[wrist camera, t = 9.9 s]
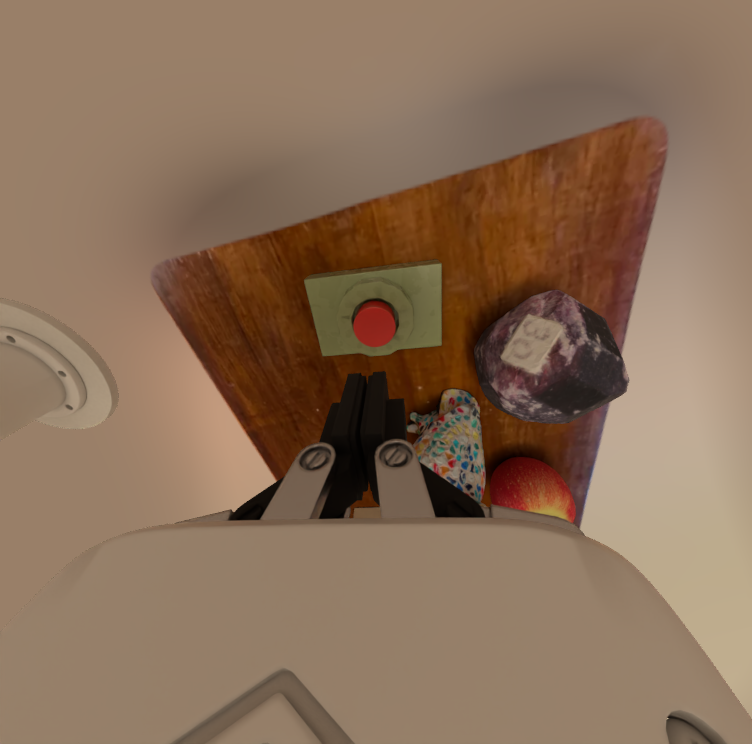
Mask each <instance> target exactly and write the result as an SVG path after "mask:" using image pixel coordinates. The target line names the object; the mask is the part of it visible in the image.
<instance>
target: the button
mask: <svg viewBox="0 0 752 744" xmlns="http://www.w3.org/2000/svg"><path fill="white" fill-rule="evenodd" d="M353 329H354V333H355V335H356V337H357V339H358V340H359V341H360V342H361V343H363V344H364V345H367V346H370V347H380V346H383V345H385V344H387V343H388V342H389V341H390V340H391V339H392V338H393V336H394V334H395V330H396V323H395V315H394V312H393V310H392V309H391V308H390V307H389V306H388V305H387V304H385V303H383V302H381V301H370V302H367V303H365V304H363V305H362V306H361V307H360V308H359V310H358V312H357V314H356V317H355V320H354V324H353Z"/></svg>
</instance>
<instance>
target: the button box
mask: <svg viewBox="0 0 752 744" xmlns="http://www.w3.org/2000/svg"><path fill="white" fill-rule="evenodd" d="M304 283H305V287H306V291H307V295H308V299H309V303H310V307H311V311H312V315H313V319H314V323H315V328H316V332H317V336H318V340H319V344H320V348H321V352H322V356H332V355H343V354H354V353H362V354H365V355H368V356H380V355H390V354H391V353H393V352H394V351H396V350H399V349H410V348H421V347H432V346H441V345H442V264H441V263H440V262H439V261H438V260H437V259H435V260H427V261H418V262H410V263H402V264H394V265H385V266H377V267H369V268H361V269H352V270H344V271H336V272H328V273H319V274H311V275H310V276H308V277H307V278H306V279H304ZM370 301H381V302H383V303H385V304H387V305H388V306H389V307H390V308H391V309H392V310H393V312H394V315H395V323H396V330H395V334H394V336H393V338H392V339H391V340H390V341H389V342H388V343H387V344H385V345H383V346H380V347H370V346H367V345H364V344H363V343H361V342H360V341H359V340H358V339H357V337H356V335H355V333H354V329H353V324H354V320H355V317H356V314H357V312H358V310H359V308H360V307H361V306H362V305H363V304H365V303H367V302H370Z"/></svg>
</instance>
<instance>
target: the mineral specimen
mask: <svg viewBox="0 0 752 744" xmlns="http://www.w3.org/2000/svg"><path fill="white" fill-rule="evenodd" d="M474 357H475V364H476V370H477V375H478V379H479V384H480V386H481V388H482V390H483V392H484V394H485V396H486V397H487V398H488V400H489V401H490V402H491V403H492V404H493V405H494V406H495V407H496V408H498V409H500V410H501V411H503V412H505V413H507V414H509V415H512V416H514V417H516V418H518V419H521V420H525V421H532V422H540V423H555V424H557V423H561V424H563V423H569V422H571V421H573V420H575V419H577V418H579V417H581V416H583V415H585V414H587V413H588V412H590V411H593V410H595V409H597V408H599V407H601V406H603V405H605V404H607V403H608V402H610V401H612V400H614V399H616V398H617V397H619V396H621V395H622V394H624V393H625V392H626V391H627V386H628V383H629V377H628V374H627V371H626V368H625V364H624V361H623V358H622V356H621V354H620V352H619V349H618V347H617V345H616V342H615V340H614V338H613V336H612V333H611V331H610V329H609V327H608V325H607V322H606V320H605V319H604V318H603V317H601V316H600V315H598V314H597V313H595V312H594V311H592V310H591V309H589V308H588V307H586V306H585V305H583V304H582V303H580V302H578V301H577V300H575V299H574V298H572V297H571V296H569V295H567V294H565V293H564V292H562V291H560V290H552V291H548V292H545V293H541V294H538V295H534V296H531V297H530V298H528V299H526V300H525V301H523V302H522V303H520V304H519V305H517V306H516V307H514V308H513V309H512V310H510V311H509V312H507V313H506V314H505V315H504V316H502V317H501V318H499V319H498V320H497V321H495V322H494V323H493V324H491V325H490V326H489V327H488V328H487V329H485V331H484V332H483V333H482V335H481V337H480V338H479V340H478V342H477V344H476V346H475V348H474Z"/></svg>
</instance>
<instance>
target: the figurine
mask: <svg viewBox="0 0 752 744" xmlns="http://www.w3.org/2000/svg"><path fill="white" fill-rule="evenodd" d="M436 407H437V409H436V410H434V411H432V412H431V413H429V414H426V415H424V416H422V415H420V414H418V413H416V412H413V413H411V414H410V419H411V420H412V421H411V422H410V423H408V425H407V427H406V428H407V431H408V432H411V433H416V434H418V435H419V438H418V439H417V440H416V442H415V443H414V444H413V446H414V448H415V450H416V452H417V456H418V459H419V462H421V463H422V464H424V465H425V466H427V467H428V468H429V469H431V470H432V471H434V472H435V473H437V474H438V475H440V476H441V477H442V478H444V479H445V480H447V481H448V482H450V483H451V484H453V485H454V486H455V487H457V488H458V489H460V490H461V491H463V492H464V493H466V494H467V495H469V496H470V497H471V498H473V499H474V500H475V501H476V502H477V503H478V504H479V505H480V506H485V507H486V505H484V504H483V503H481V502H480V501H481V500H482V498H483V494H484V488H485V473H486V472H485V466H484V463H485V461H484V456H483V447H482V437H481V435H482V432H481V425H480V416H479V413H480V407H479V405H478V403H477V401H476V400H475V398H474V397H473V396H472V395H470V394H469V393H468V392H467V391H464V390H458V389H448V390H444V391H443V392H442V393H441V398H440V400H439V403H438V404H437V406H436Z"/></svg>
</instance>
